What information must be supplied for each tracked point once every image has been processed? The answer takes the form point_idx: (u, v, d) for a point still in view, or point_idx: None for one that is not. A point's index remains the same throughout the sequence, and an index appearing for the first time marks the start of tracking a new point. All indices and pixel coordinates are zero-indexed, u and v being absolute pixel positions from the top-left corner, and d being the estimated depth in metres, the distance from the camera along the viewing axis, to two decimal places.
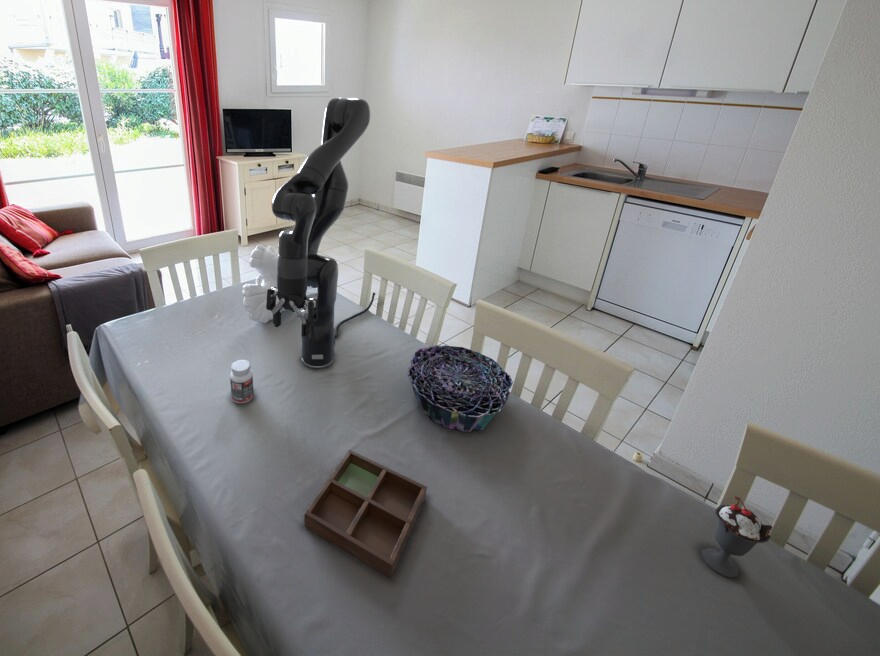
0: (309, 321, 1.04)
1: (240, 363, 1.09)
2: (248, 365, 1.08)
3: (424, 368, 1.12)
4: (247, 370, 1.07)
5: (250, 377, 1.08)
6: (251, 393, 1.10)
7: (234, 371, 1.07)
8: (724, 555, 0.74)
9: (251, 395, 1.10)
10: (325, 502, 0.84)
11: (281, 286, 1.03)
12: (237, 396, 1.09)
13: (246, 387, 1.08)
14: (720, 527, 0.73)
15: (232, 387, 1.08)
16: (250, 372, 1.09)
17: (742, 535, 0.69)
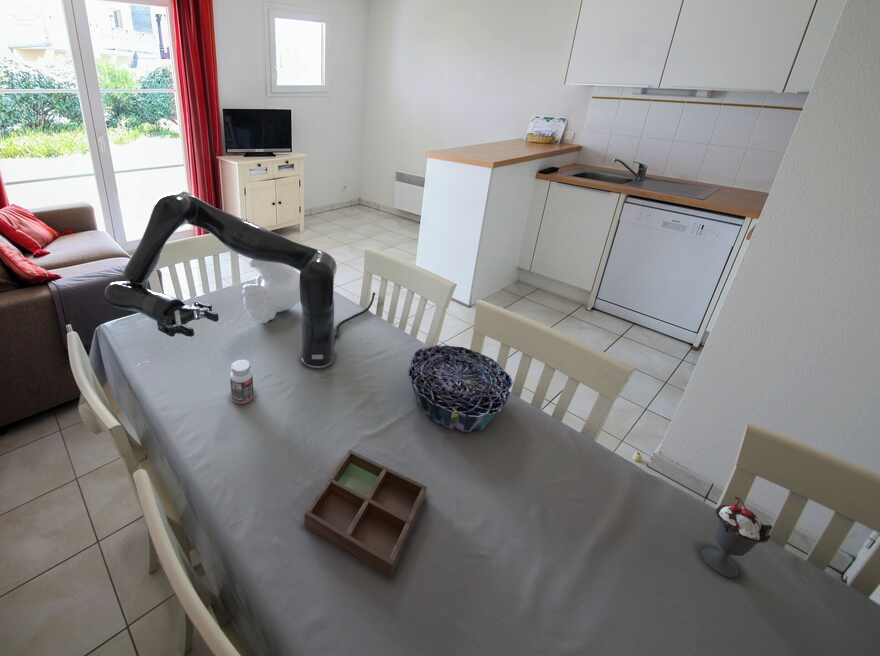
0: None
1: (240, 363, 1.09)
2: (248, 365, 1.08)
3: (424, 368, 1.12)
4: (247, 370, 1.07)
5: (250, 377, 1.08)
6: (251, 393, 1.10)
7: (234, 371, 1.07)
8: (724, 555, 0.74)
9: (251, 395, 1.10)
10: (325, 502, 0.84)
11: None
12: (237, 396, 1.09)
13: (246, 387, 1.08)
14: (720, 527, 0.73)
15: (232, 387, 1.08)
16: (250, 372, 1.09)
17: (742, 535, 0.69)
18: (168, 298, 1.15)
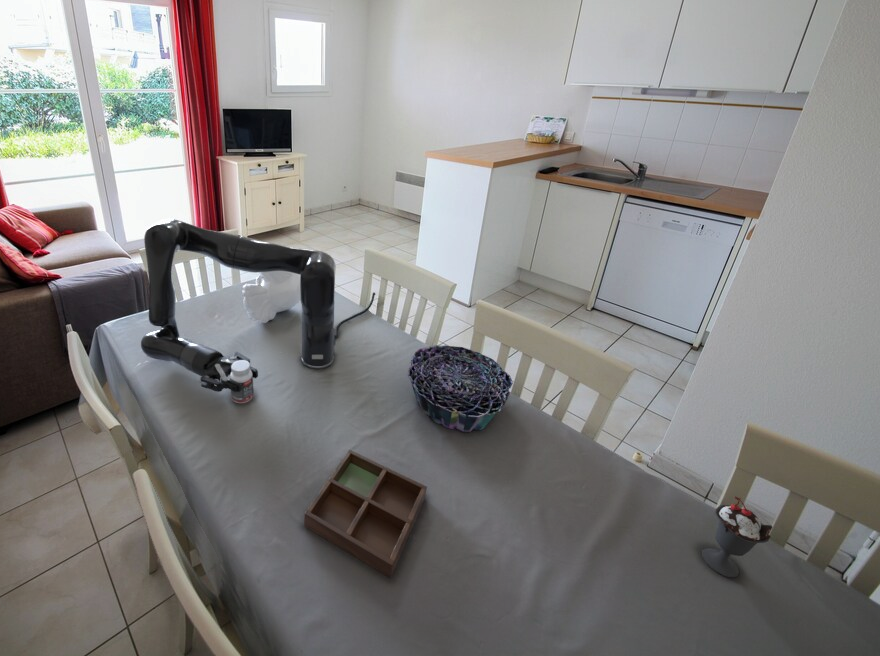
0: None
1: (240, 363, 1.09)
2: (248, 365, 1.08)
3: (424, 368, 1.12)
4: (247, 370, 1.07)
5: (250, 377, 1.08)
6: (251, 393, 1.10)
7: (234, 371, 1.07)
8: (724, 555, 0.74)
9: (251, 395, 1.10)
10: (325, 502, 0.84)
11: None
12: (237, 396, 1.09)
13: (246, 388, 1.08)
14: (720, 527, 0.73)
15: None
16: (250, 372, 1.09)
17: (742, 535, 0.69)
18: (207, 350, 1.14)
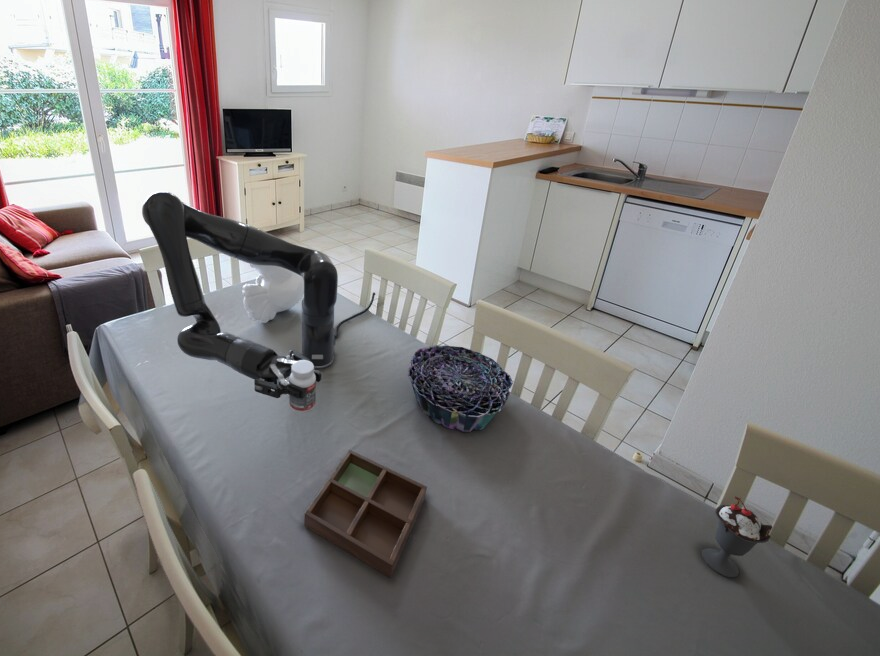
0: None
1: (302, 364, 0.90)
2: (312, 366, 0.89)
3: (424, 368, 1.12)
4: (311, 372, 0.89)
5: (314, 381, 0.89)
6: (314, 400, 0.91)
7: (296, 373, 0.88)
8: (724, 555, 0.74)
9: (313, 402, 0.92)
10: (325, 502, 0.84)
11: None
12: (297, 404, 0.90)
13: (310, 393, 0.89)
14: (720, 527, 0.73)
15: None
16: (313, 375, 0.90)
17: (742, 535, 0.69)
18: (259, 348, 0.95)
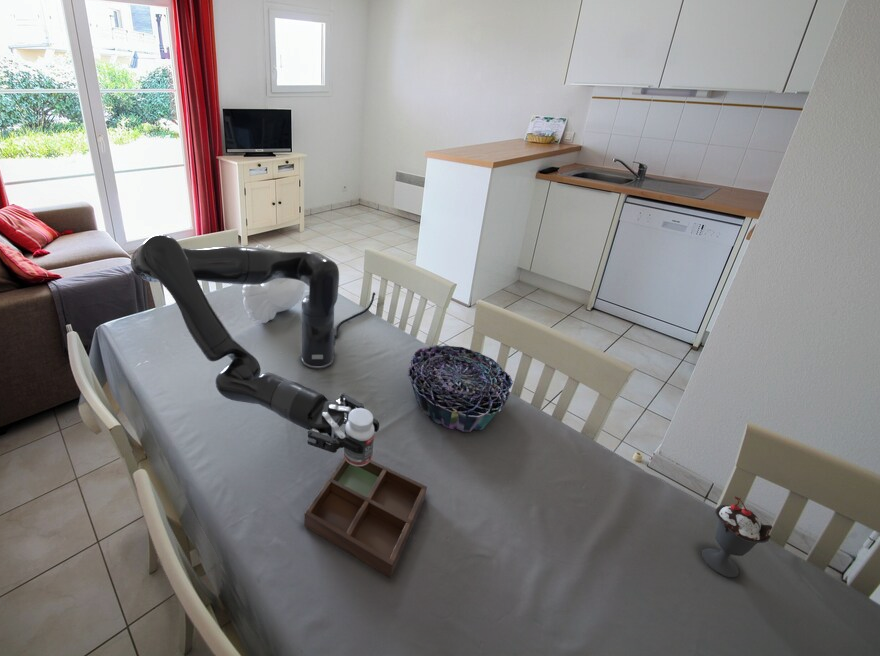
0: None
1: (359, 413, 0.82)
2: (371, 416, 0.81)
3: (424, 368, 1.12)
4: (371, 424, 0.80)
5: (373, 433, 0.81)
6: (371, 452, 0.83)
7: (354, 425, 0.79)
8: (724, 555, 0.74)
9: (371, 455, 0.83)
10: (325, 502, 0.84)
11: None
12: (354, 458, 0.81)
13: (368, 447, 0.81)
14: (720, 527, 0.73)
15: None
16: (372, 425, 0.82)
17: (742, 535, 0.69)
18: (309, 393, 0.87)
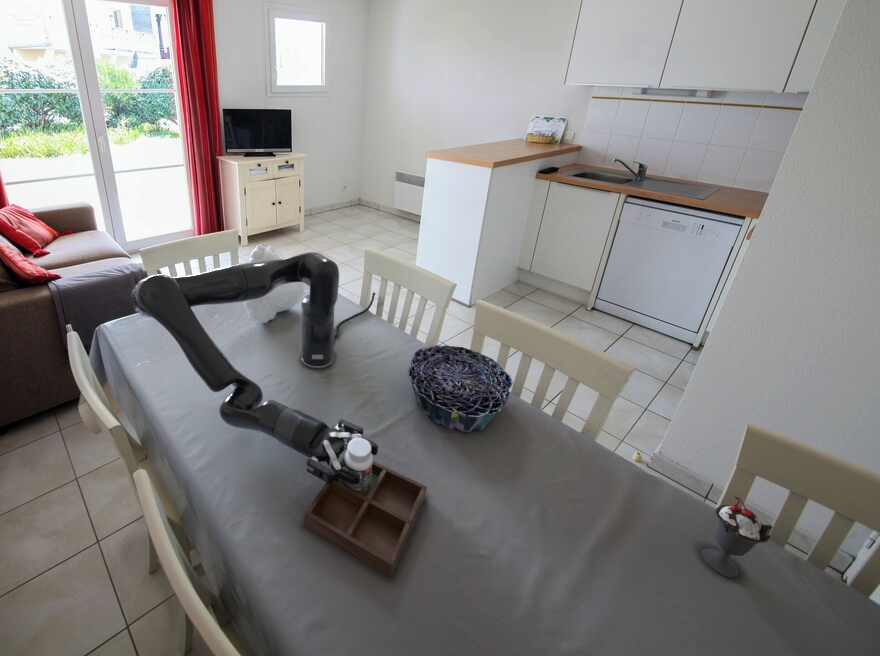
0: None
1: (358, 443, 0.85)
2: (369, 447, 0.84)
3: (424, 368, 1.12)
4: (369, 454, 0.83)
5: (371, 462, 0.84)
6: (370, 481, 0.86)
7: (353, 456, 0.82)
8: (724, 555, 0.74)
9: (370, 483, 0.86)
10: (325, 502, 0.84)
11: None
12: (354, 487, 0.84)
13: (367, 476, 0.84)
14: (720, 527, 0.73)
15: None
16: (370, 455, 0.85)
17: (742, 535, 0.69)
18: (310, 422, 0.90)
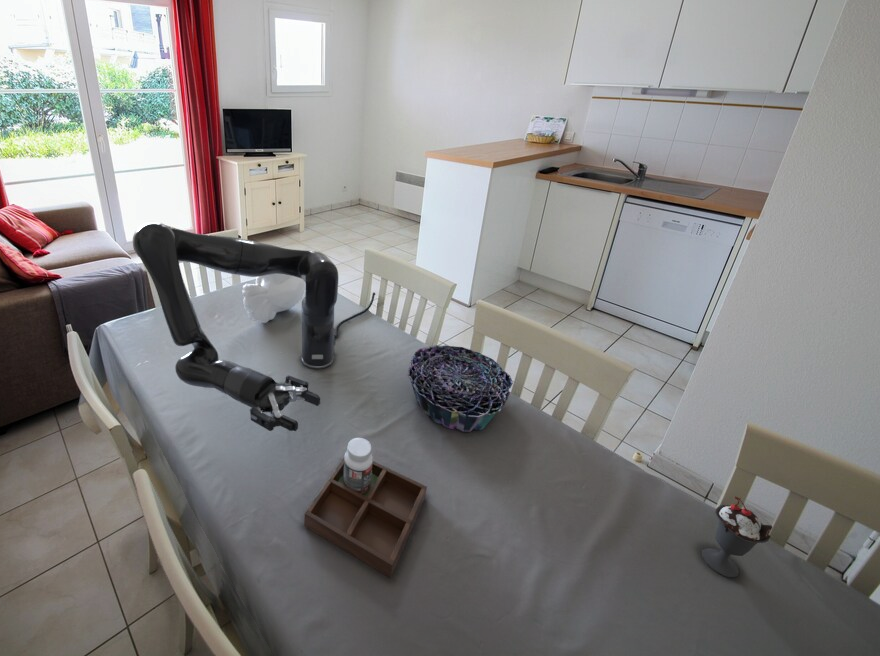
0: None
1: (358, 443, 0.85)
2: (369, 447, 0.84)
3: (424, 368, 1.12)
4: (369, 454, 0.83)
5: (371, 462, 0.84)
6: (370, 481, 0.86)
7: (353, 456, 0.82)
8: (724, 555, 0.74)
9: (370, 483, 0.86)
10: (325, 502, 0.84)
11: None
12: (354, 487, 0.84)
13: (367, 476, 0.84)
14: (720, 527, 0.73)
15: (348, 475, 0.84)
16: (370, 455, 0.85)
17: (742, 535, 0.69)
18: (258, 376, 0.95)
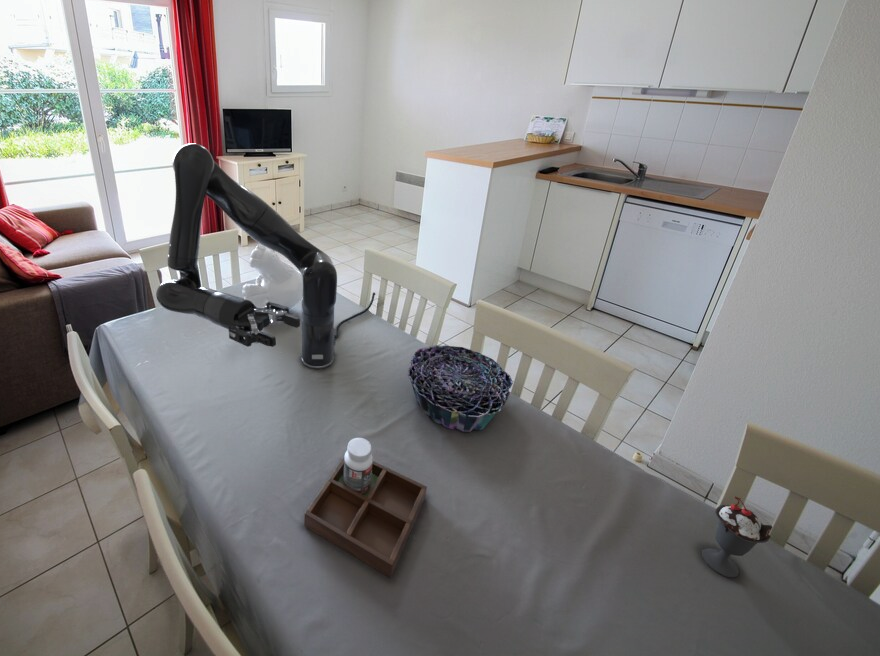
0: None
1: (358, 443, 0.85)
2: (369, 447, 0.84)
3: (424, 368, 1.12)
4: (369, 454, 0.83)
5: (371, 462, 0.84)
6: (370, 481, 0.86)
7: (353, 456, 0.82)
8: (724, 555, 0.74)
9: (370, 483, 0.86)
10: (325, 502, 0.84)
11: None
12: (354, 486, 0.84)
13: (367, 476, 0.84)
14: (720, 527, 0.73)
15: (348, 475, 0.84)
16: (370, 455, 0.85)
17: (742, 535, 0.69)
18: (237, 299, 0.95)
